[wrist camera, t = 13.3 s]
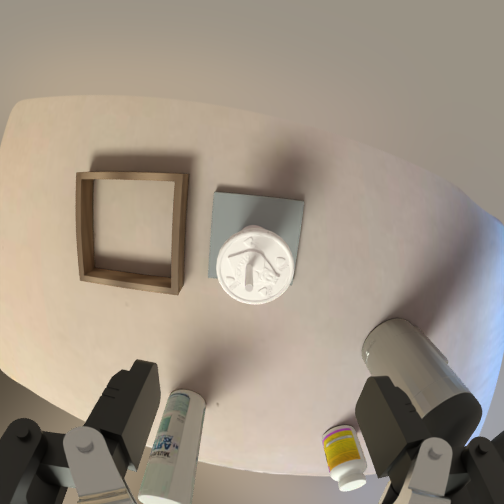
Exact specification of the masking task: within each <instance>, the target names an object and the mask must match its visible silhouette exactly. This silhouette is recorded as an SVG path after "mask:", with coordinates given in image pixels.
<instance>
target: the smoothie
mask: <svg viewBox="0 0 504 504" xmlns="http://www.w3.org/2000/svg"><path fill="white" fill-rule="evenodd" d="M216 271H217V277H218V280H219V282H220V284H221V286H222V288H223V289H224V290H225V292H226V293H227V294H228V295H230V296H231V297H232V298H234V299H236V300H238V301H240V302H243V303H246V304H264V303H267V302H270V301H272V300H274V299H276V298H278V297H279V296H280V295H282V294H283V293H284V292H285V291H286V289H287V288H288V286H289V285H290V283H291V281H292V278H293V274H294V260H293V256H292V253H291V250H290V248H289V246H288V245H287V243H286V242H285V241H284V240H283V239H282V238H281V237H280V236H278V235H277V234H275V233H274V232H272V231H269V230H266V229H264V228H262V227H260V226H257V225H250V226H247V227H245V228H243V229H242V230H241V231H239V232H237V233H235V234H233V235H232V236H231V237H230V238H229V239H228V240H226V241H225V243H224V244H223V246H222V247H221V249H220V251H219V254H218V258H217V264H216Z"/></svg>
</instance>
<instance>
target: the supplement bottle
mask: <svg viewBox="0 0 504 504" xmlns="http://www.w3.org/2000/svg"><path fill="white" fill-rule="evenodd" d="M322 442H323V447H324V451H325V455H326V459H327V463H328V467H329V472H330V476H331V478H332V479H334V480H336V481H339V484H338V485H339V489H340V490H341V491H350V490H354V489H357V488H359V487H361V486H363V485H364V484H365V483H366V477H365V475H364V474H363V473H364V471H365V470H366V468H367V462H366V460H365V457H364V454H363V451H362V448H361V445H360V442H359V439H358V437H357V434H356V431H355V429H354V428H353V427H352V426H348V425H342V426H337V427H334V428H332V429H330V430H329V431H327V432H326V433H325V434H324V435H323V438H322Z"/></svg>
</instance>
